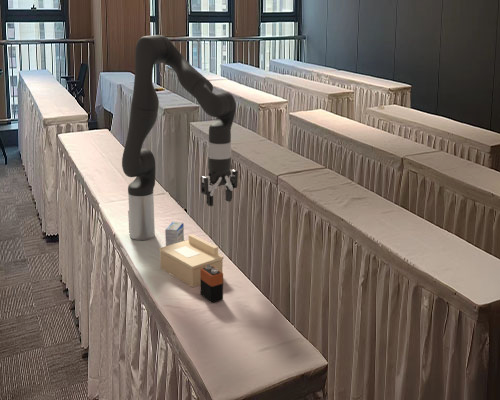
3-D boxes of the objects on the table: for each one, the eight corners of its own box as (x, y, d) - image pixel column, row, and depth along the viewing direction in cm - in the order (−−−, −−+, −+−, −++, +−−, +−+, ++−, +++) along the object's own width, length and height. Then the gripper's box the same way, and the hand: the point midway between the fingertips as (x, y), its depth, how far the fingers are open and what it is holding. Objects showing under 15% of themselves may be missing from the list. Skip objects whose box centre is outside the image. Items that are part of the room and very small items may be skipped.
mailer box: (160, 268, 211) (160, 251, 209) (189, 258, 219) (189, 243, 217) (192, 287, 199) (192, 270, 197) (222, 276, 206) (222, 260, 204)
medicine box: (177, 253, 223) (177, 230, 221) (165, 251, 224) (165, 229, 221) (184, 244, 231) (183, 222, 228) (172, 243, 232) (172, 221, 229)
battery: (211, 303, 189) (211, 273, 185) (199, 294, 194) (199, 265, 191) (223, 300, 191) (223, 270, 188) (212, 291, 196) (212, 262, 193)
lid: (159, 251, 209) (159, 240, 208) (189, 241, 217) (189, 231, 216) (192, 269, 196) (192, 258, 195) (223, 259, 204) (223, 248, 203)
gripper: (229, 149, 211) (228, 196, 216) (194, 156, 202) (195, 204, 207) (244, 154, 205) (243, 202, 211) (209, 161, 196) (209, 211, 202)
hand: (219, 203), depth 209 cm, fingers open, 7 cm apart
